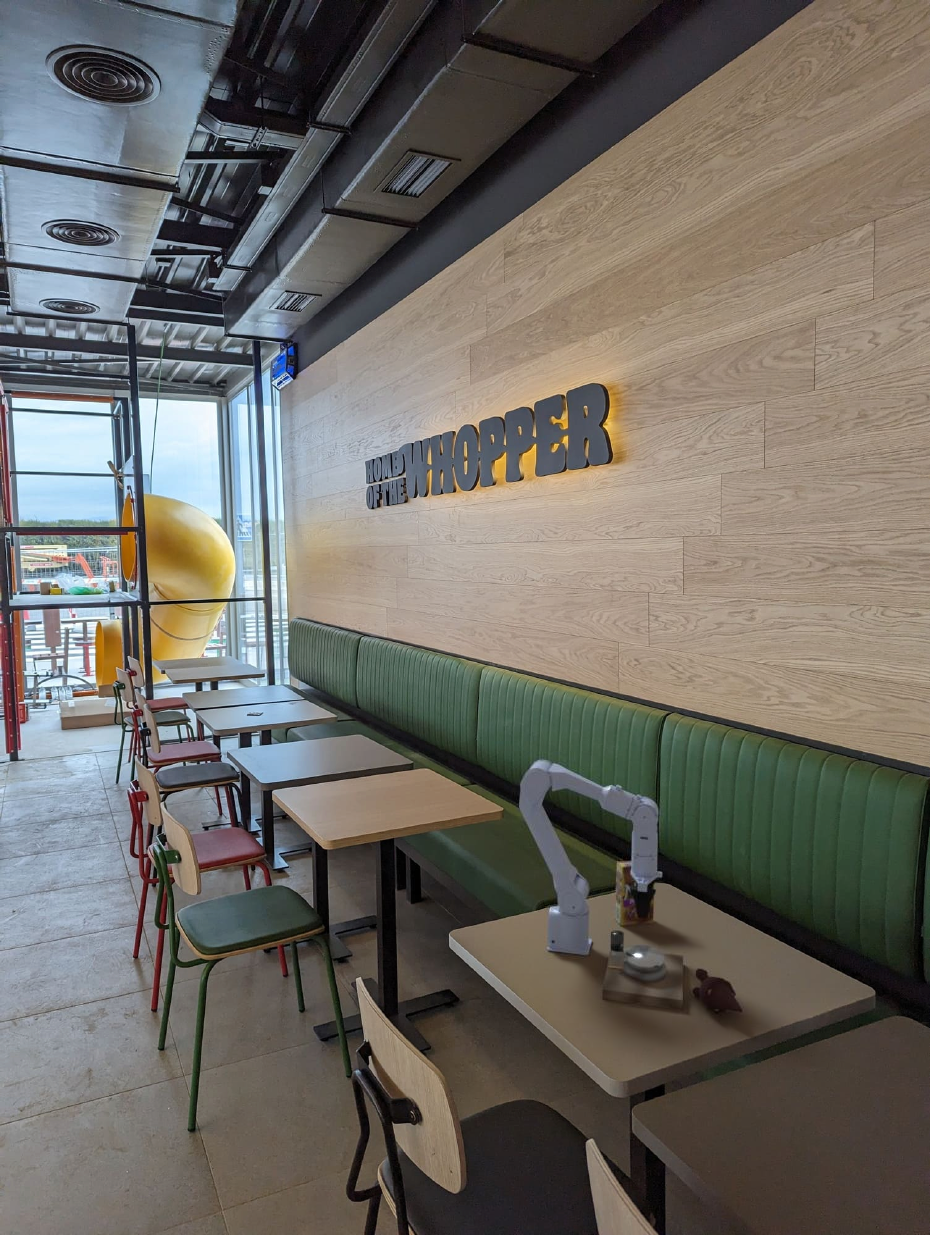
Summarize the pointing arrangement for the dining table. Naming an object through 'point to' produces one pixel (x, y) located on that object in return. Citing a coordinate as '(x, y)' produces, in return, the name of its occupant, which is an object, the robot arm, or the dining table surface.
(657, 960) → the grey disc with handle
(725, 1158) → the dining table surface
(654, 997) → the lock base
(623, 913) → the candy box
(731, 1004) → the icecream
